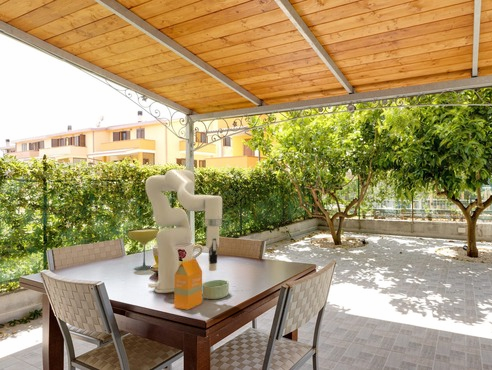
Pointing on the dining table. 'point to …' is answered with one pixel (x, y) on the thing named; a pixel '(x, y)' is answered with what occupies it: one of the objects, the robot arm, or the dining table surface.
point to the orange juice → (188, 285)
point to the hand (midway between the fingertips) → (212, 262)
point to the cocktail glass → (143, 240)
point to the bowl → (215, 289)
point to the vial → (211, 265)
